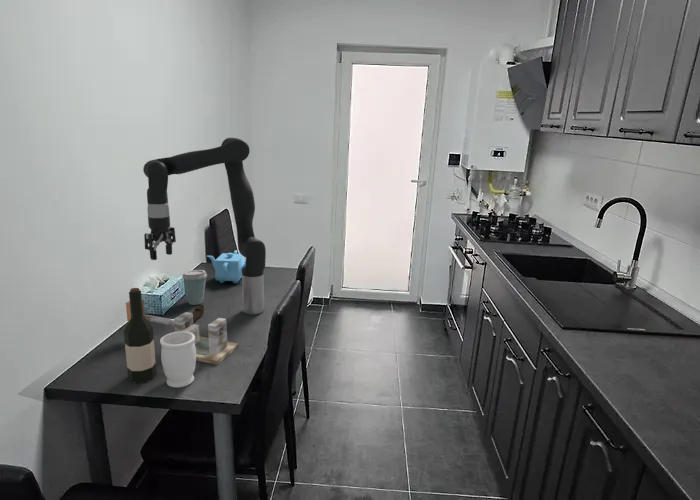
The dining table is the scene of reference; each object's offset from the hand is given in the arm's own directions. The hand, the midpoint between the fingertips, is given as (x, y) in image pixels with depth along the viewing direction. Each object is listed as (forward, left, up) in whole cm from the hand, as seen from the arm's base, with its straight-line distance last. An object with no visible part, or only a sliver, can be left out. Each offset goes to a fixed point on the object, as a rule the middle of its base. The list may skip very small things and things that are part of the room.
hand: (161, 256), depth 175 cm
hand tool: (-11, +4, -30) cm, 33 cm away
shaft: (+10, +4, -24) cm, 26 cm away
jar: (+30, +29, -30) cm, 52 cm away
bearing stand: (+10, +23, -30) cm, 39 cm away
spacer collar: (+10, +19, -28) cm, 35 cm away
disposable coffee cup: (-29, -7, -30) cm, 43 cm away
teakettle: (-64, -10, -30) cm, 72 cm away
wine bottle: (+32, +16, -30) cm, 47 cm away
